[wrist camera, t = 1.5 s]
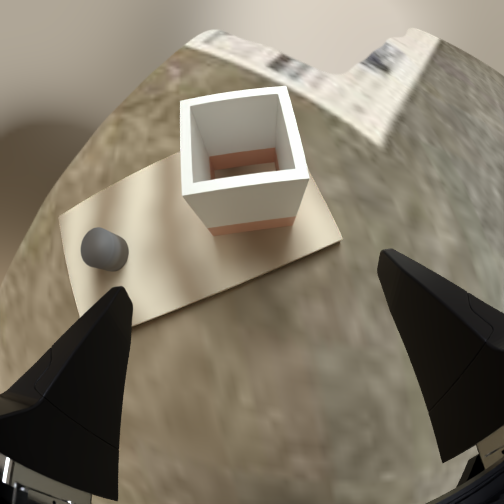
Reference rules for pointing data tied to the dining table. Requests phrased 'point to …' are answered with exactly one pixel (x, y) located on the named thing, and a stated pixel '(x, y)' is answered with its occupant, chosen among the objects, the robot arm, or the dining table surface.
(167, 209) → the pin board
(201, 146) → the sleeve
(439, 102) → the dining table surface
